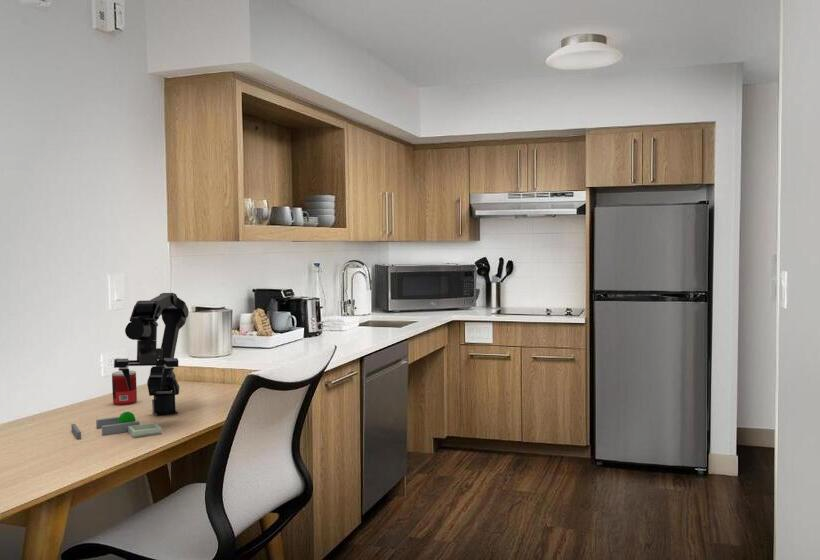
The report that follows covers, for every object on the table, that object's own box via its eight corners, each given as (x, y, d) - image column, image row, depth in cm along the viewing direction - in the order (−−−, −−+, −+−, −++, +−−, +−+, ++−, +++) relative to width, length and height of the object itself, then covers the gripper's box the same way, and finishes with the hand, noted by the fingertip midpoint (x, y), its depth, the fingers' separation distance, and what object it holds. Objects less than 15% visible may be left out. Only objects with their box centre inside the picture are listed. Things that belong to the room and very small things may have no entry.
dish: (155, 428, 230) (155, 422, 230) (161, 433, 223) (161, 427, 223) (127, 432, 226) (127, 426, 226) (133, 438, 219) (133, 431, 219)
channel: (131, 422, 238) (131, 414, 238) (140, 430, 228) (139, 422, 228) (71, 430, 229) (71, 422, 229) (77, 439, 219) (77, 430, 218)
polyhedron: (118, 426, 233) (118, 411, 233) (135, 424, 235) (135, 409, 234) (118, 430, 228) (118, 414, 228) (135, 428, 230) (135, 413, 230)
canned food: (141, 402, 268) (140, 371, 267) (122, 406, 261) (121, 375, 260) (127, 399, 272) (126, 369, 271) (108, 404, 265) (107, 373, 264)
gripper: (115, 339, 224) (114, 392, 223) (180, 339, 231) (179, 391, 230) (114, 340, 234) (113, 391, 233) (177, 340, 242) (176, 389, 240)
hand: (145, 390), depth 234 cm, fingers open, 9 cm apart
